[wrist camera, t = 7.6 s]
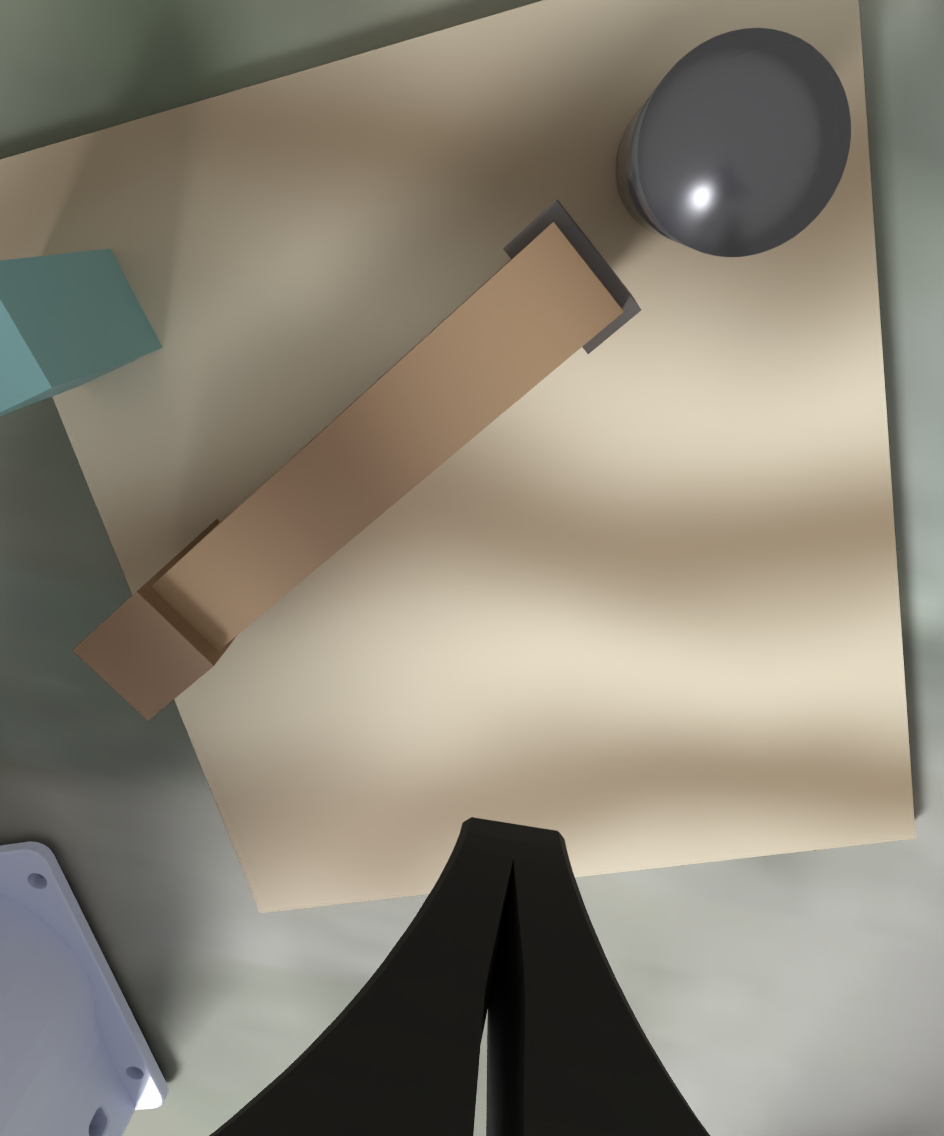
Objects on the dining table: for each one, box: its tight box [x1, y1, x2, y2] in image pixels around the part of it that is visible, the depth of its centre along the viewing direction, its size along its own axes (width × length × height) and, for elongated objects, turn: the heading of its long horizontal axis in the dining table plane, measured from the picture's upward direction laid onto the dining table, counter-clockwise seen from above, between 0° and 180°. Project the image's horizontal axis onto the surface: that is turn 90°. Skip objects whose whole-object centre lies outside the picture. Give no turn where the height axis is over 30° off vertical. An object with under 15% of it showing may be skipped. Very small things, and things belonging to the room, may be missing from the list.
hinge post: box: [615, 28, 851, 257], centre depth 13 cm, size 2×2×6 cm
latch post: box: [0, 249, 163, 416], centre depth 16 cm, size 2×2×4 cm
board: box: [0, 0, 916, 913], centre depth 19 cm, size 18×16×1 cm
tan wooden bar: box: [72, 200, 641, 720], centre depth 16 cm, size 11×2×4 cm, turn 132°
